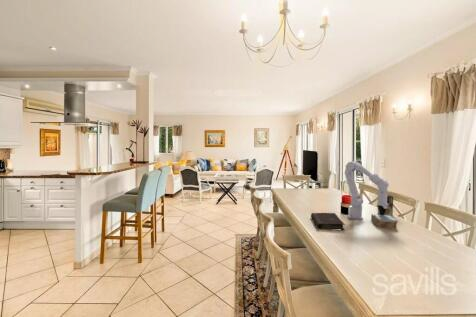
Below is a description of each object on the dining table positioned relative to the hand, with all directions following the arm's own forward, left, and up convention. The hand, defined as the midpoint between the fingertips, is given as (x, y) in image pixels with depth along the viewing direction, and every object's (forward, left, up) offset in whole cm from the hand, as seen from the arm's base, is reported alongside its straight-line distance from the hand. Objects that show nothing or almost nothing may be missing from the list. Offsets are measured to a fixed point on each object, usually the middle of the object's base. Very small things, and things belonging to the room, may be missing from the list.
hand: (381, 215), depth 176 cm
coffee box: (+9, +23, -5) cm, 25 cm away
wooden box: (0, -4, -5) cm, 6 cm away
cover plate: (0, -6, -1) cm, 6 cm away
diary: (-39, -13, -6) cm, 41 cm away
